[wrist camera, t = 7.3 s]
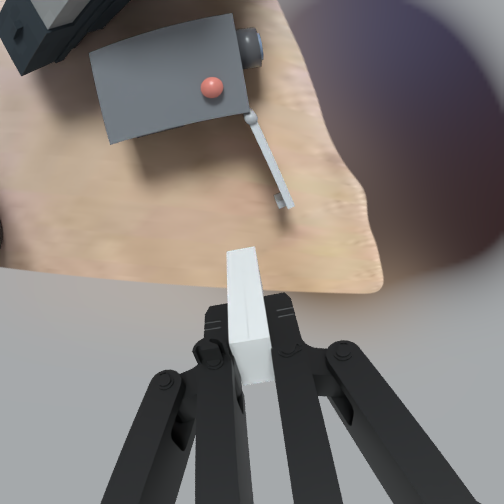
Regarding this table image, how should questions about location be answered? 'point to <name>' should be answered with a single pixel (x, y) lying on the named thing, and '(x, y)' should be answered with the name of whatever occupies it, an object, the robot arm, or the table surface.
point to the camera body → (174, 76)
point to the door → (269, 161)
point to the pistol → (50, 28)
